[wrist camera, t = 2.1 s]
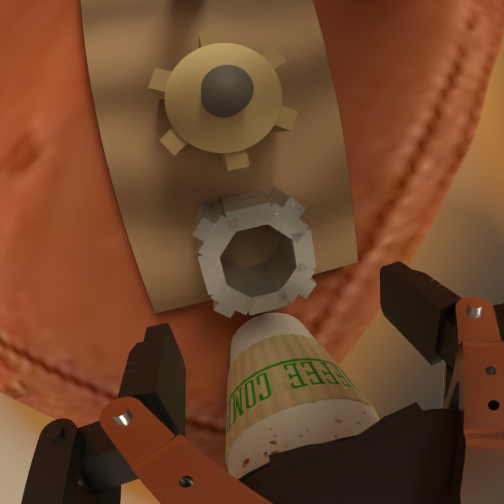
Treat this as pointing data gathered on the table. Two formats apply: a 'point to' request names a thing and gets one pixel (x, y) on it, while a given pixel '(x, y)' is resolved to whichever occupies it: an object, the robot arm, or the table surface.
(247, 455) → the coffee cup
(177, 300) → the gear board
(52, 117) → the table surface
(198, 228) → the steel gear
